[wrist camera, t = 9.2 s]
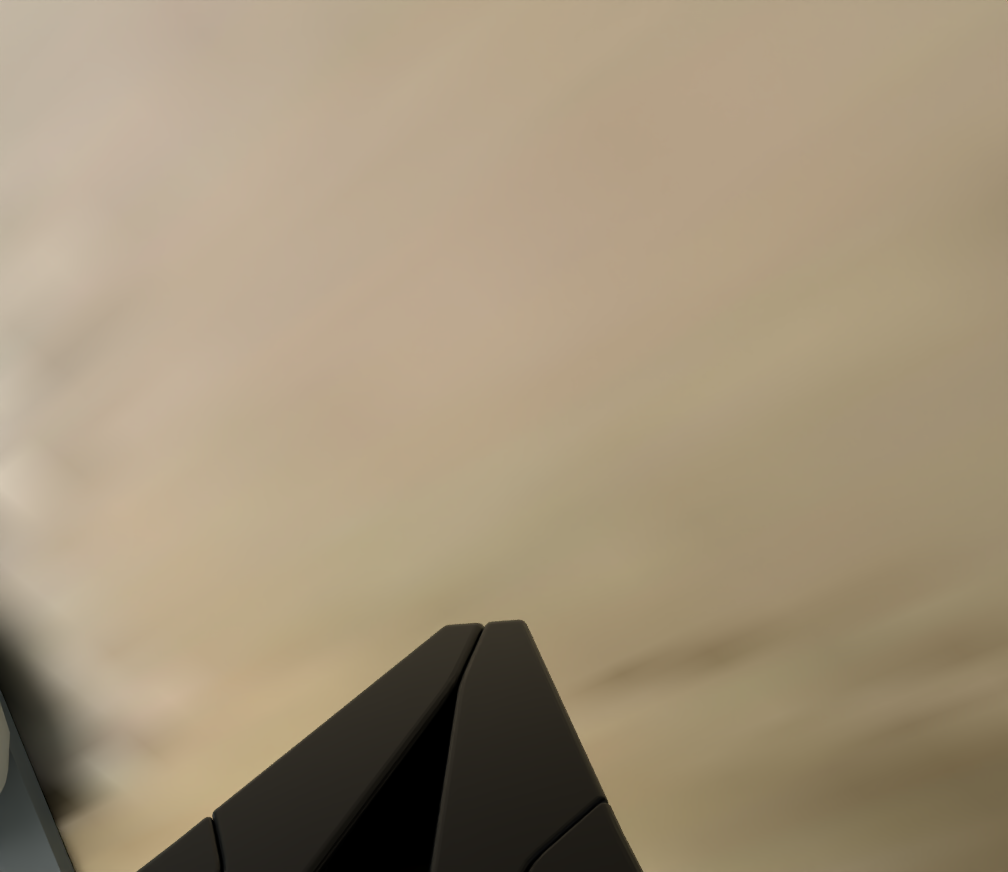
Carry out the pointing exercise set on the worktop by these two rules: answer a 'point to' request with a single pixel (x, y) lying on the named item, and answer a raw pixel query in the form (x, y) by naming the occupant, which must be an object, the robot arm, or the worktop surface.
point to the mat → (26, 816)
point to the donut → (3, 748)
